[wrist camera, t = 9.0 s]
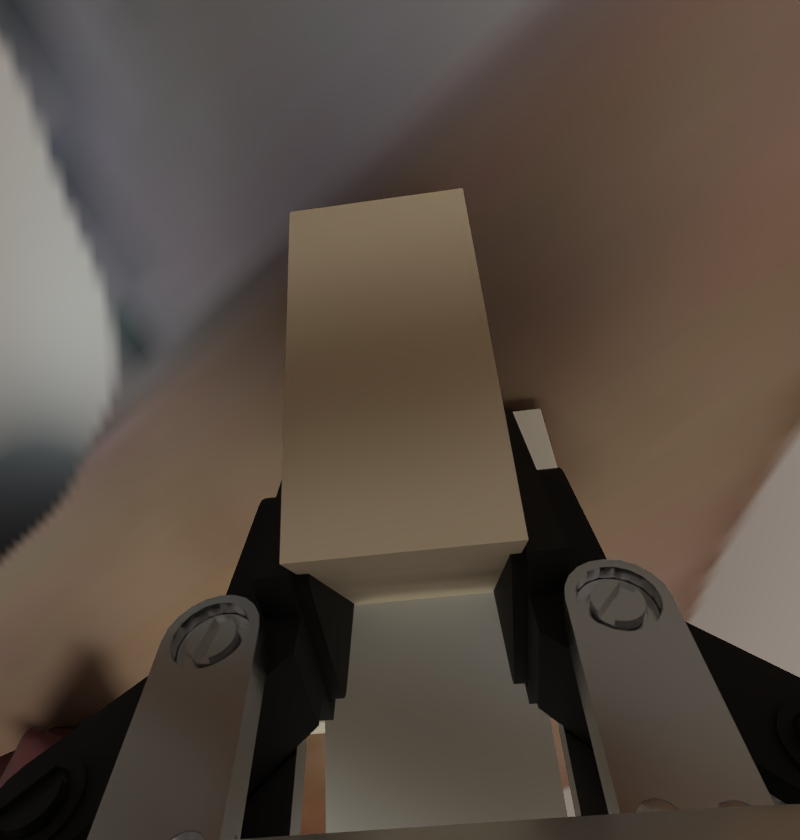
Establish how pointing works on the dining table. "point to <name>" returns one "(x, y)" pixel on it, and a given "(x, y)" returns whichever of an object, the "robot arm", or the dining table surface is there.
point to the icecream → (29, 749)
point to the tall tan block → (408, 516)
